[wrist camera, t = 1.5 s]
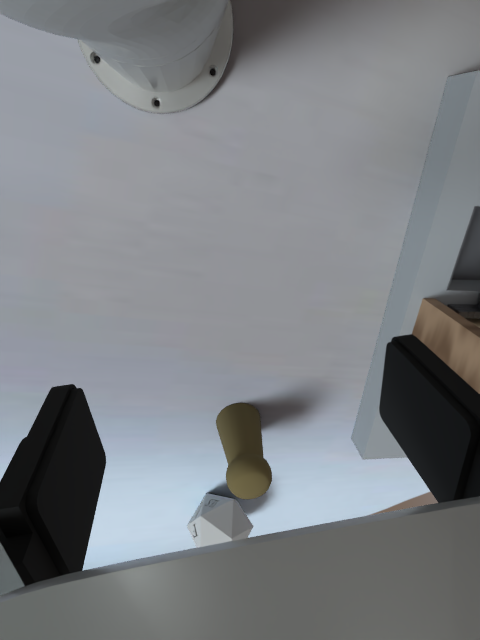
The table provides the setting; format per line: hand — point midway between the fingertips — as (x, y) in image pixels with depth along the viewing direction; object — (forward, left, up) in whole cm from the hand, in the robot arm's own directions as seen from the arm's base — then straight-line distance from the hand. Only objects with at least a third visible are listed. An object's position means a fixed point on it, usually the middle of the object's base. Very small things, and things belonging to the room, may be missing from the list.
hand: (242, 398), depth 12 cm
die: (+43, +4, -30) cm, 53 cm away
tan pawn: (+27, +6, -30) cm, 41 cm away
